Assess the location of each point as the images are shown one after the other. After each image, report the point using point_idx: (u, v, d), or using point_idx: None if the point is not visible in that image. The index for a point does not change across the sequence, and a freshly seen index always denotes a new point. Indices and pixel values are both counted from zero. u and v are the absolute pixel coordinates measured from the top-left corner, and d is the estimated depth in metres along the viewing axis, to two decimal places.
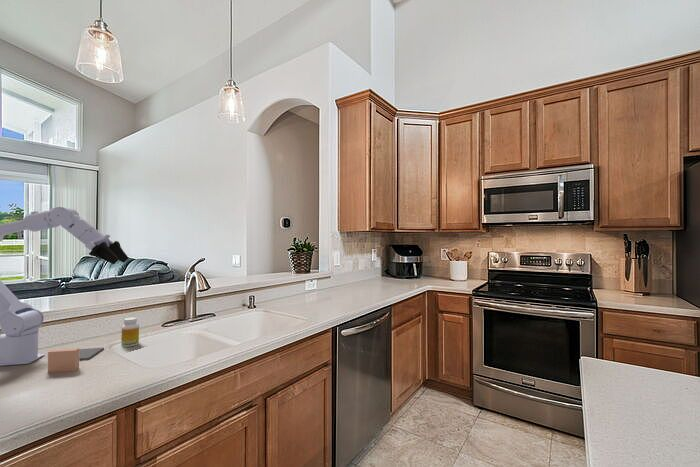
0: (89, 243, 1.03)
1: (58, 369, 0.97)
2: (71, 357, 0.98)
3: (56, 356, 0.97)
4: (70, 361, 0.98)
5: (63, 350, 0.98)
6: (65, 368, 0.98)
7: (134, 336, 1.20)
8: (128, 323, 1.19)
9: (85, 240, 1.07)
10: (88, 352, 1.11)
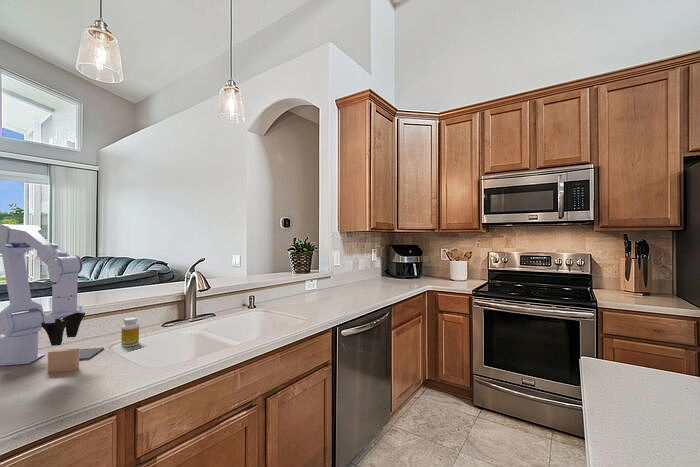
0: (51, 317, 0.91)
1: (58, 369, 0.97)
2: (71, 357, 0.98)
3: (56, 356, 0.97)
4: (70, 361, 0.98)
5: (63, 350, 0.98)
6: (65, 368, 0.98)
7: (134, 336, 1.20)
8: (128, 323, 1.19)
9: (55, 303, 0.96)
10: (88, 352, 1.11)
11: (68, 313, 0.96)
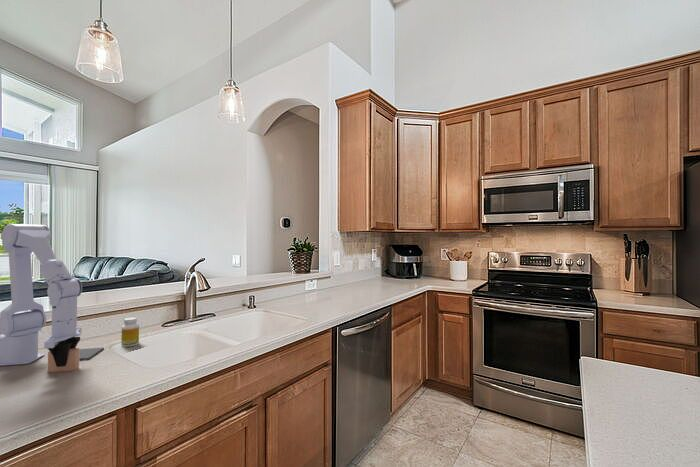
0: (50, 343, 0.91)
1: (58, 369, 0.97)
2: (71, 357, 0.98)
3: None
4: (70, 361, 0.98)
5: None
6: (65, 368, 0.98)
7: (134, 336, 1.20)
8: (128, 323, 1.19)
9: (54, 328, 0.96)
10: (88, 352, 1.11)
11: (68, 337, 0.96)
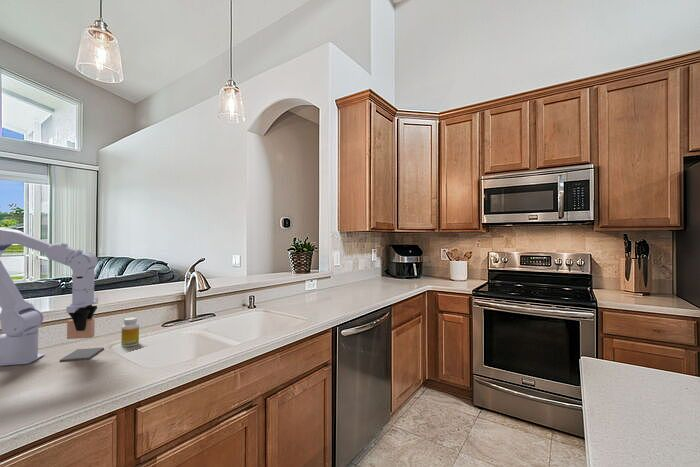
0: (71, 308, 1.03)
1: (76, 336, 1.08)
2: (87, 326, 1.09)
3: (74, 325, 1.08)
4: (86, 329, 1.09)
5: None
6: (82, 335, 1.09)
7: (134, 336, 1.20)
8: (128, 323, 1.19)
9: (75, 296, 1.07)
10: (88, 352, 1.11)
11: (86, 304, 1.08)
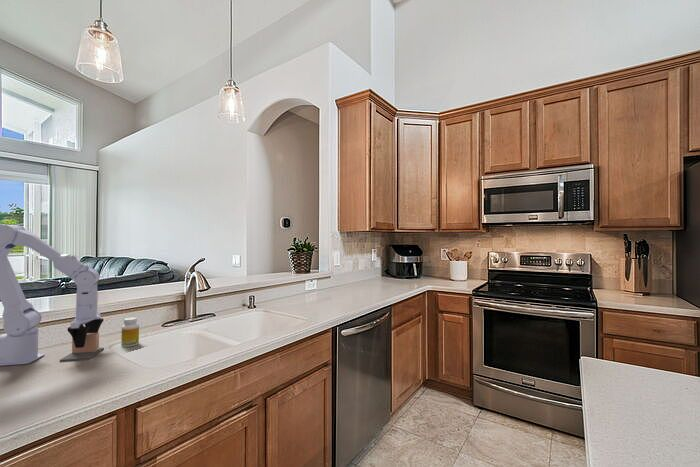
0: (76, 323, 1.05)
1: (81, 350, 1.11)
2: (92, 340, 1.12)
3: None
4: (91, 343, 1.12)
5: None
6: (87, 349, 1.11)
7: (134, 336, 1.20)
8: (128, 323, 1.19)
9: (79, 311, 1.09)
10: (88, 352, 1.11)
11: (90, 319, 1.10)
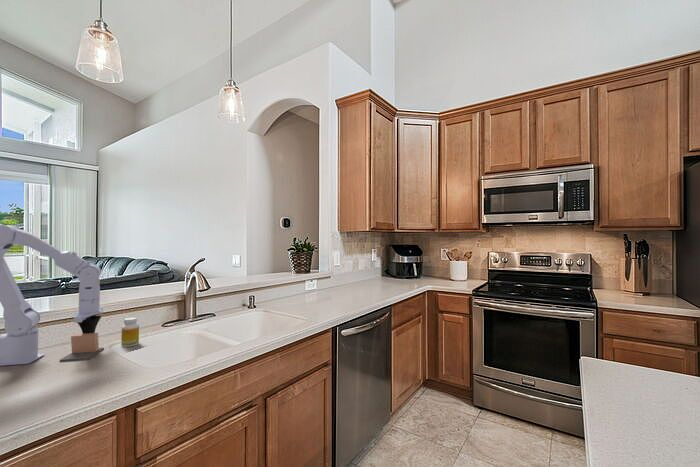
0: (79, 318, 1.07)
1: (81, 350, 1.11)
2: (91, 340, 1.11)
3: (78, 339, 1.10)
4: (91, 344, 1.11)
5: (84, 334, 1.11)
6: (87, 349, 1.11)
7: (134, 336, 1.20)
8: (128, 323, 1.19)
9: (81, 306, 1.11)
10: (88, 352, 1.11)
11: (92, 314, 1.12)
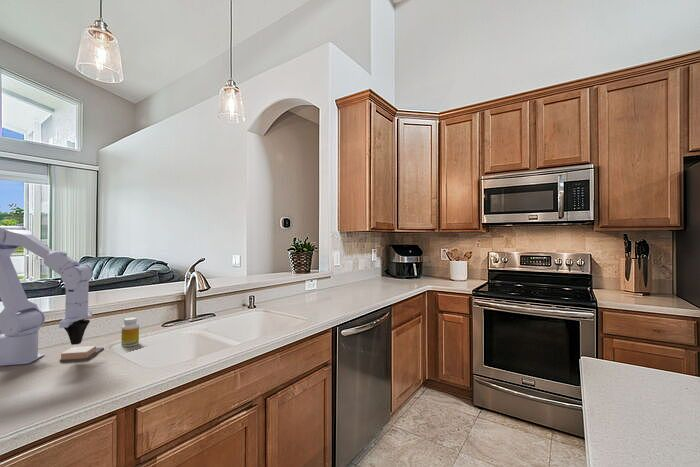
0: (65, 323, 0.99)
1: None
2: None
3: None
4: None
5: (73, 356, 1.05)
6: None
7: (134, 336, 1.20)
8: (128, 323, 1.19)
9: (68, 309, 1.04)
10: None
11: (80, 318, 1.04)
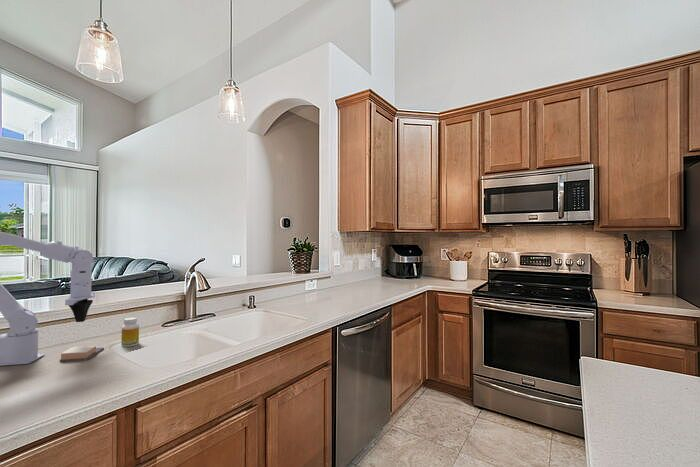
0: (70, 301, 1.09)
1: None
2: None
3: None
4: None
5: (73, 356, 1.05)
6: None
7: (134, 336, 1.20)
8: (128, 323, 1.19)
9: (73, 289, 1.13)
10: None
11: (84, 297, 1.14)
